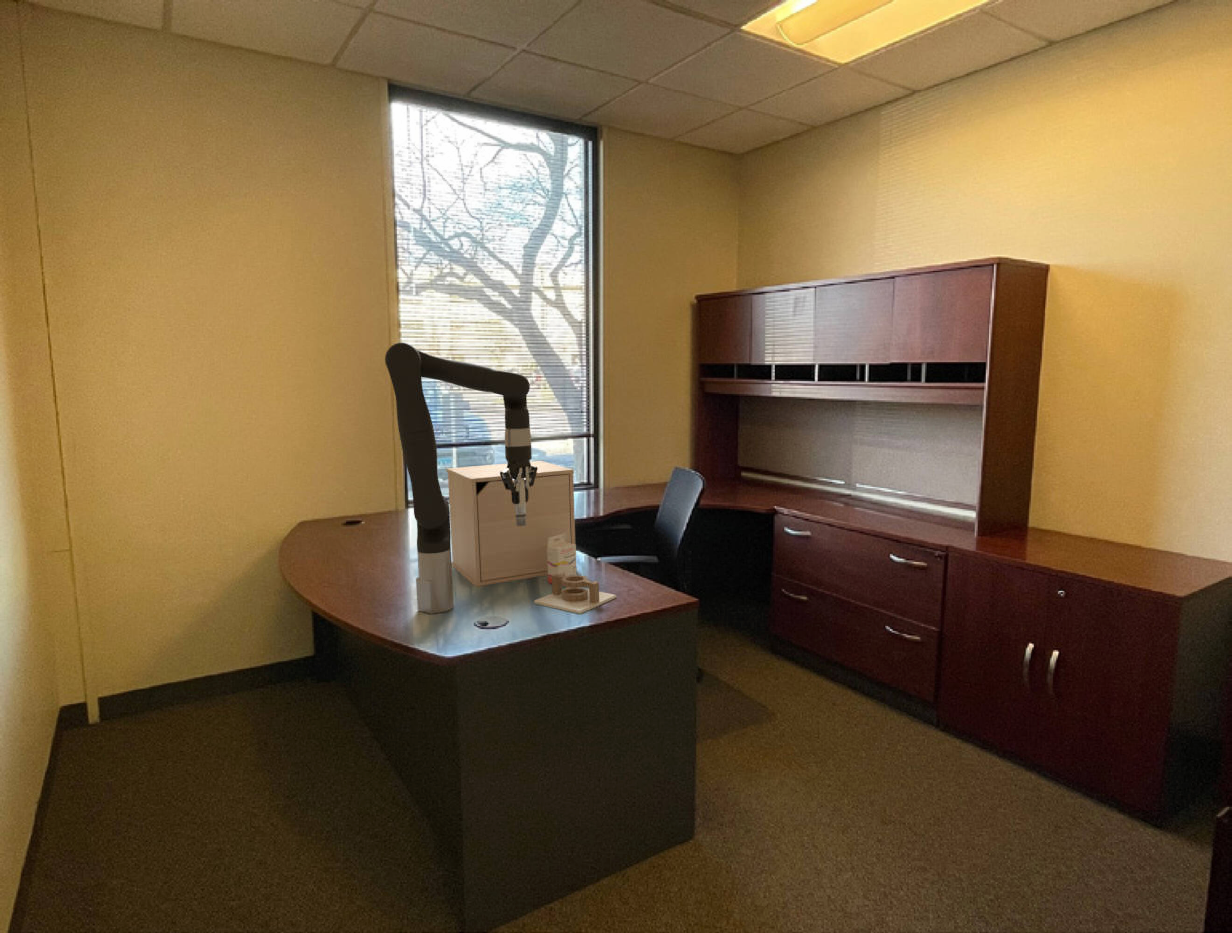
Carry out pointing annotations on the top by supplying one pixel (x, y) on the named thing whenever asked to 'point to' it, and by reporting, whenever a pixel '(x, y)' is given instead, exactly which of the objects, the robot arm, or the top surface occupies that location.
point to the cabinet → (507, 522)
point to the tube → (521, 505)
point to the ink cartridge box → (561, 557)
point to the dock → (573, 605)
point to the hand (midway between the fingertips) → (520, 502)
